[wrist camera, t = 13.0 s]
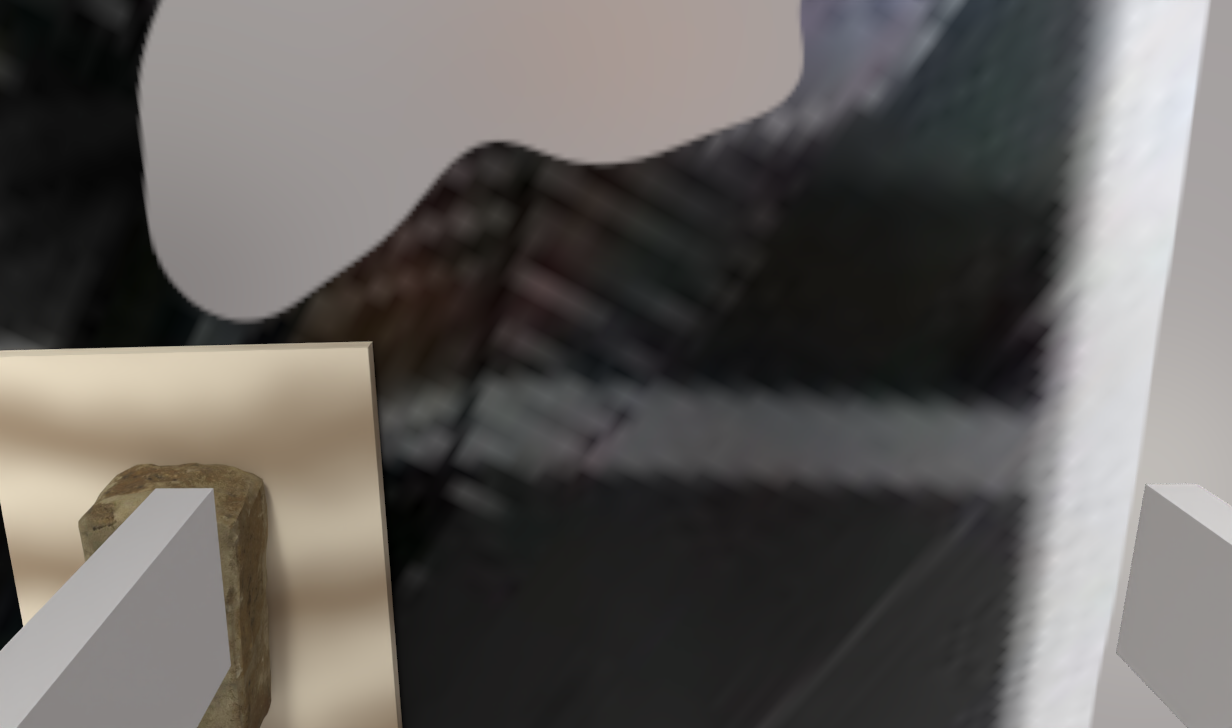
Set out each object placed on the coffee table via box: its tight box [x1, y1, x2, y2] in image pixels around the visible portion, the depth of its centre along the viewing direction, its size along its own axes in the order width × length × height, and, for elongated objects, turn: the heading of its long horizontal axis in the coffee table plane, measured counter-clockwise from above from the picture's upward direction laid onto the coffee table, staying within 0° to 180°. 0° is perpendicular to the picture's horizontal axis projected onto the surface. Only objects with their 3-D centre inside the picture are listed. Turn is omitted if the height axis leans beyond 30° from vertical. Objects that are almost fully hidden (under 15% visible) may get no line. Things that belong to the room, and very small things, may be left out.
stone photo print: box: [0, 342, 402, 728], centre depth 43 cm, size 20×15×1 cm
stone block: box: [78, 463, 271, 728], centre depth 40 cm, size 6×12×5 cm, turn 178°
